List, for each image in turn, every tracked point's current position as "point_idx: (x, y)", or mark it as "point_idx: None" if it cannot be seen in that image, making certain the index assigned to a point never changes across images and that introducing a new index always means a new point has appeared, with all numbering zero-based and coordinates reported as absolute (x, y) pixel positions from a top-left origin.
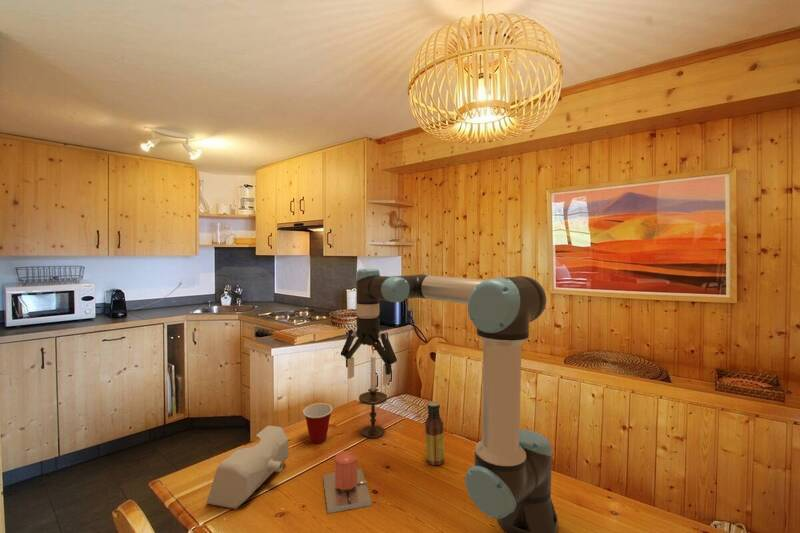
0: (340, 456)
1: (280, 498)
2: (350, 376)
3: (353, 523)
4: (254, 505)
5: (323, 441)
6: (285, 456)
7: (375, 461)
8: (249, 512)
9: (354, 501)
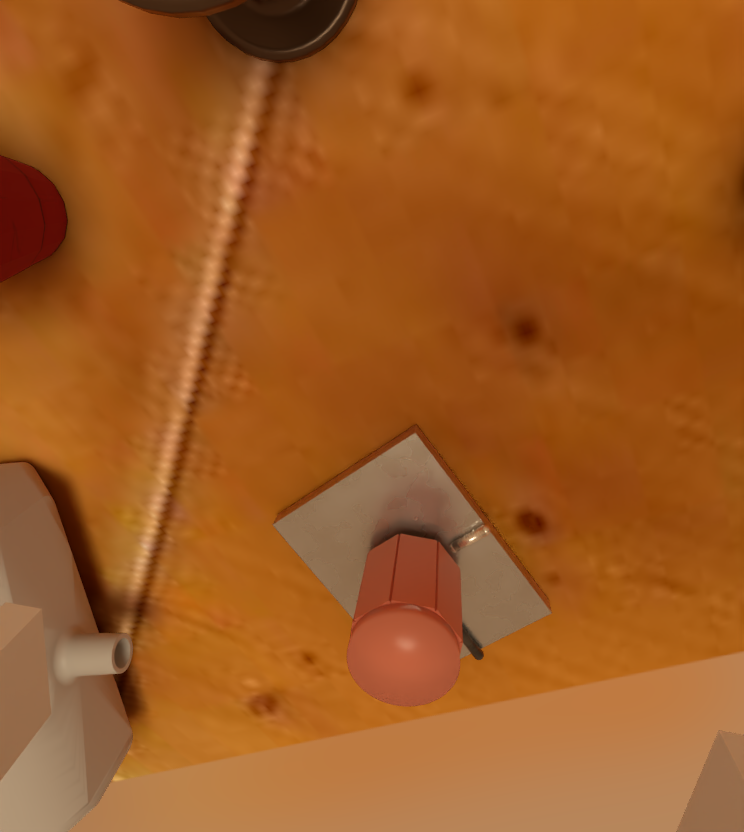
0: (375, 667)
1: (207, 647)
2: (31, 716)
3: (519, 686)
4: (157, 692)
5: (64, 224)
6: (50, 524)
7: (442, 305)
8: (170, 719)
9: (488, 635)
